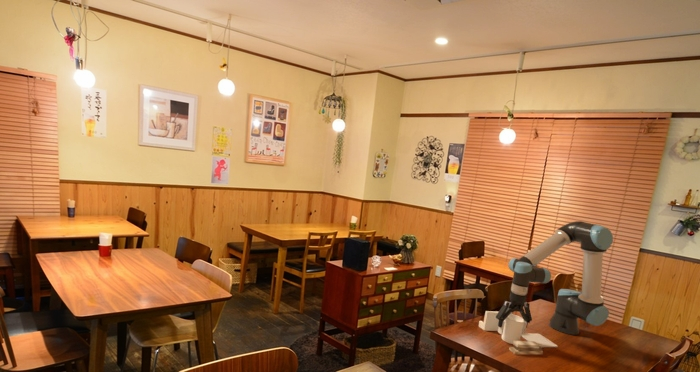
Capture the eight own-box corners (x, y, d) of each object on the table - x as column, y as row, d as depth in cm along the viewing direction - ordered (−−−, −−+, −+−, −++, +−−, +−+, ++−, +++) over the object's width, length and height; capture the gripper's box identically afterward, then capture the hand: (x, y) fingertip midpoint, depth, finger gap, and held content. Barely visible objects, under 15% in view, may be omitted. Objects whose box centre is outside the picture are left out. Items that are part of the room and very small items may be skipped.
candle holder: (522, 347, 181) (527, 323, 180) (501, 342, 183) (506, 319, 182) (517, 338, 191) (521, 316, 190) (498, 334, 192) (502, 312, 192)
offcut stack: (535, 349, 181) (537, 340, 180) (542, 354, 176) (544, 345, 176) (508, 349, 176) (510, 340, 176) (515, 354, 172) (516, 345, 171)
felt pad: (538, 334, 200) (538, 333, 200) (557, 347, 187) (558, 346, 187) (518, 334, 196) (518, 333, 196) (537, 347, 183) (537, 346, 183)
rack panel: (503, 326, 203) (506, 309, 203) (509, 330, 199) (512, 313, 198) (478, 326, 199) (481, 308, 198) (484, 330, 194) (487, 312, 194)
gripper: (503, 294, 178) (495, 336, 179) (544, 296, 185) (536, 337, 186) (493, 289, 185) (485, 329, 187) (533, 291, 192) (526, 330, 193)
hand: (511, 333), depth 186 cm, fingers open, 13 cm apart
